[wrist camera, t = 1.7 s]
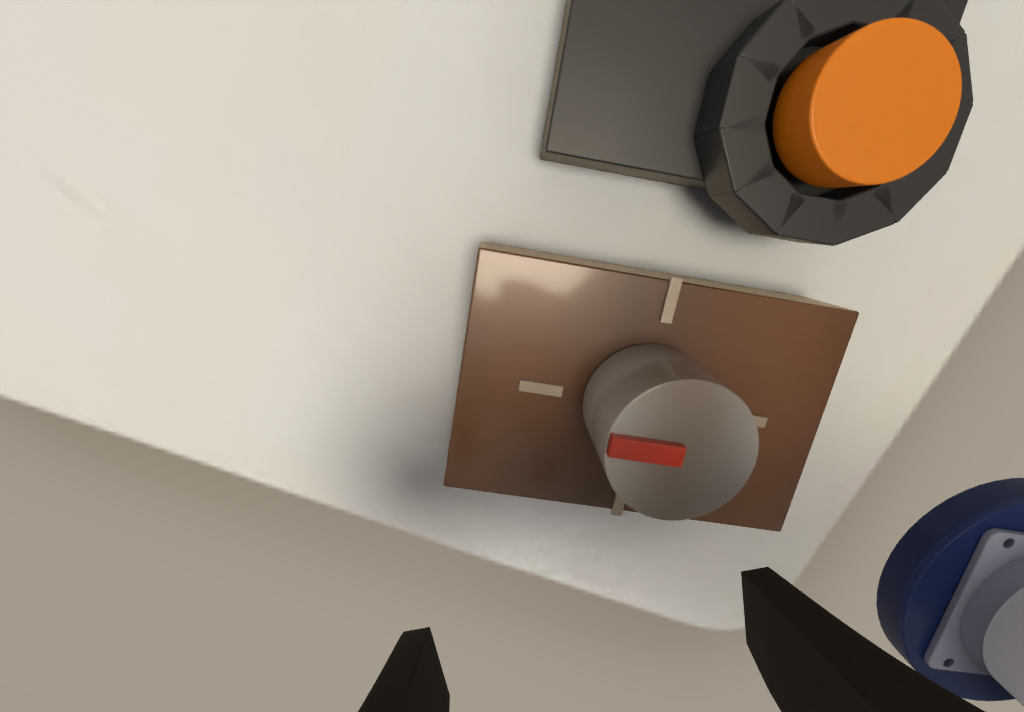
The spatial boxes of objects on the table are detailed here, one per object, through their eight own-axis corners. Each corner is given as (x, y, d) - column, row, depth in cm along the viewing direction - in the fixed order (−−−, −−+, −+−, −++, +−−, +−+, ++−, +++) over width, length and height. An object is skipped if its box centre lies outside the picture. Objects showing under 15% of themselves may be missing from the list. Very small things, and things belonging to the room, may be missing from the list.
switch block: (932, -48, 16) (1074, -132, 12) (833, 251, 18) (923, 261, 14) (588, -126, 15) (619, -244, 11) (532, 197, 17) (542, 193, 14)
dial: (720, 354, 16) (786, 396, 12) (687, 467, 17) (739, 537, 13) (597, 334, 16) (626, 371, 12) (571, 450, 17) (591, 517, 13)
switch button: (926, 56, 13) (988, 33, 11) (877, 198, 14) (928, 197, 12) (795, 28, 13) (840, 1, 11) (754, 175, 14) (789, 170, 12)
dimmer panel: (805, 293, 19) (865, 310, 16) (741, 490, 21) (782, 537, 18) (482, 238, 18) (478, 244, 15) (450, 449, 20) (442, 491, 17)
